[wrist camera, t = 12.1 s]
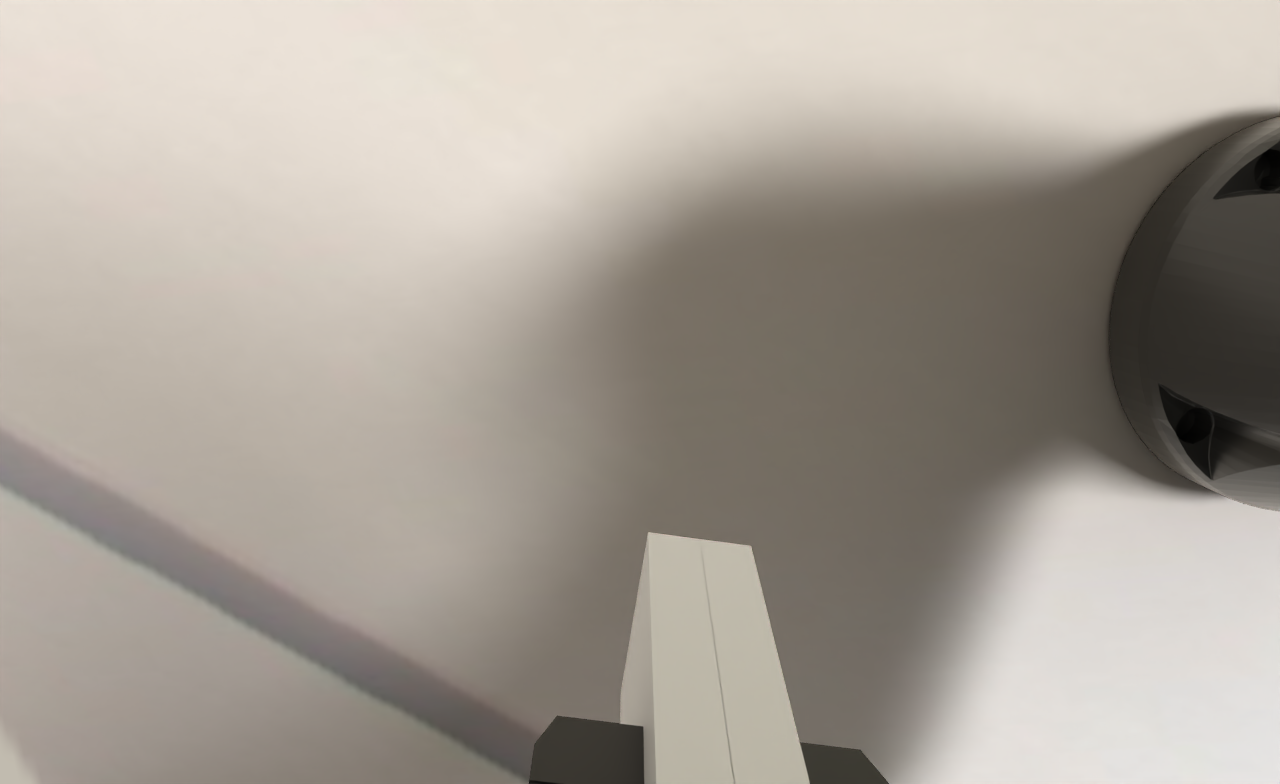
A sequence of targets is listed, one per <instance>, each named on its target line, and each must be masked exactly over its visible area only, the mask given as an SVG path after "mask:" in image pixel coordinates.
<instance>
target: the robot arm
mask: <svg viewBox="0 0 1280 784" xmlns="http://www.w3.org/2000/svg"><path fill="white" fill-rule="evenodd" d="M1109 344H1110V359H1111V367H1112V372H1113V377H1114V382H1115V386H1116V389H1117V393H1118V396H1119V399H1120V401H1121V404H1122V407H1123V409H1124V411H1125V413H1126V415H1127V417H1128V419H1129V421H1130V423H1131V425H1132V426H1133V428H1134V430H1135V431H1136V433H1137V434H1138V435H1139V437H1140V438H1141V440H1142V441H1143V442H1144V443H1145V445H1146V446H1147V447H1148V448H1149V449H1150V450H1151V451H1152V452H1153V453H1154V455H1155V456H1156V457H1157V458H1159V459H1160V460H1161V461H1162V462H1163V463H1164V464H1166V465H1167V466H1168V467H1170V468H1171V469H1172V470H1174V471H1175V472H1177V473H1178V474H1180V475H1182V476H1183V477H1185V478H1187V479H1189V480H1191V481H1193V482H1195V483H1197V484H1199V485H1202V486H1204V487H1206V488H1208V489H1210V490H1212V491H1215V492H1217V493H1219V494H1221V495H1223V496H1225V497H1227V498H1230V499H1232V500H1235V501H1238V502H1240V503H1243V504H1247V505H1251V506H1255V507H1259V508H1263V509H1268V510H1273V511H1280V117H1276V118H1272V119H1269V120H1266V121H1263V122H1260V123H1257V124H1255V125H1252V126H1250V127H1248V128H1245V129H1243V130H1241V131H1239V132H1237V133H1235V134H1233V135H1231V136H1229V137H1228V138H1226V139H1224V140H1223V141H1221V142H1220V143H1218V144H1216V145H1215V146H1213V147H1212V148H1211V149H1209V150H1208V151H1206V152H1205V153H1204V154H1202V155H1201V156H1200V157H1199V158H1197V159H1196V160H1195V161H1194V162H1193V163H1191V164H1190V165H1189V166H1188V167H1187V168H1186V169H1185V170H1184V171H1183V172H1182V173H1181V174H1180V175H1179V176H1178V177H1177V178H1176V179H1175V180H1174V181H1173V182H1172V183H1171V184H1170V185H1169V186H1168V188H1167V189H1166V190H1165V191H1164V192H1163V194H1162V195H1161V196H1160V197H1159V199H1158V200H1157V201H1156V203H1155V204H1154V206H1153V207H1152V208H1151V210H1150V211H1149V213H1148V214H1147V216H1146V217H1145V219H1144V221H1143V222H1142V224H1141V226H1140V228H1139V229H1138V231H1137V233H1136V235H1135V237H1134V239H1133V241H1132V243H1131V245H1130V247H1129V249H1128V252H1127V254H1126V257H1125V259H1124V262H1123V265H1122V267H1121V271H1120V274H1119V277H1118V280H1117V284H1116V288H1115V292H1114V297H1113V303H1112V308H1111V317H1110V333H1109ZM529 784H889V783H888V782H887V781H886V779H885V778H884V777H883V776H882V775H881V774H880V772H879V771H878V770H877V769H876V768H875V767H874V765H873V764H872V763H871V762H870V761H869V760H868V758H867V757H866V756H865V755H864V754H863V753H862V751H861V750H857V749H849V748H841V747H832V746H824V745H816V744H808V743H800V741H799V737H798V733H797V729H796V725H795V721H794V717H793V713H792V709H791V705H790V701H789V697H788V693H787V689H786V685H785V681H784V677H783V673H782V668H781V664H780V660H779V656H778V652H777V648H776V644H775V640H774V636H773V632H772V628H771V624H770V620H769V616H768V612H767V608H766V604H765V600H764V596H763V592H762V588H761V584H760V580H759V576H758V572H757V567H756V563H755V559H754V555H753V551H752V547H751V546H749V545H741V544H734V543H726V542H719V541H711V540H704V539H696V538H689V537H681V536H674V535H666V534H659V533H651V532H648V536H647V541H646V547H645V553H644V559H643V565H642V571H641V576H640V582H639V588H638V594H637V600H636V606H635V611H634V617H633V623H632V629H631V635H630V641H629V647H628V652H627V658H626V664H625V670H624V676H623V682H622V687H621V701H620V724H619V723H611V722H603V721H595V720H587V719H579V718H570V717H562V716H557V717H556V718H555V719H554V720H553V722H552V723H551V724H550V725H549V727H548V728H547V729H546V730H545V732H544V733H543V734H542V735H541V737H540V738H539V739H538V740H537V742H536V743H535V745H534V752H533V759H532V765H531V772H530V779H529Z"/></svg>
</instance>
